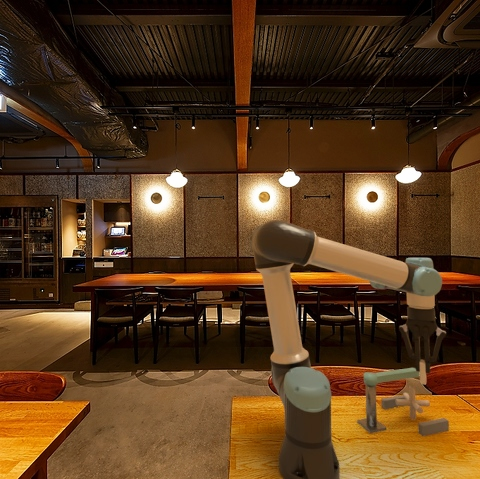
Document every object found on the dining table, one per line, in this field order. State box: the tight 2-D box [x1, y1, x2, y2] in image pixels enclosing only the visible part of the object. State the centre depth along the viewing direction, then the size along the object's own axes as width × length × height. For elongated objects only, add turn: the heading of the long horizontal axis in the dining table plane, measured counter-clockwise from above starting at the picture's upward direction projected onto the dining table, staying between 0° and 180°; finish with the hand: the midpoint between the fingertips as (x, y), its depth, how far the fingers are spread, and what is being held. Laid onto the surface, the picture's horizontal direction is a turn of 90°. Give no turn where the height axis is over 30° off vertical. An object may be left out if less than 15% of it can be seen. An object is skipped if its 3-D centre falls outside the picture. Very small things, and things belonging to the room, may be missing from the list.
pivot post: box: [356, 384, 387, 434], centre depth 94 cm, size 6×6×13 cm
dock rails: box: [380, 395, 450, 437], centre depth 98 cm, size 10×17×3 cm, turn 15°
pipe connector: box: [395, 385, 431, 421], centre depth 98 cm, size 10×10×10 cm
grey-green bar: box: [363, 367, 420, 386], centre depth 96 cm, size 20×4×2 cm, turn 105°
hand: (423, 382), depth 93 cm, fingers closed
